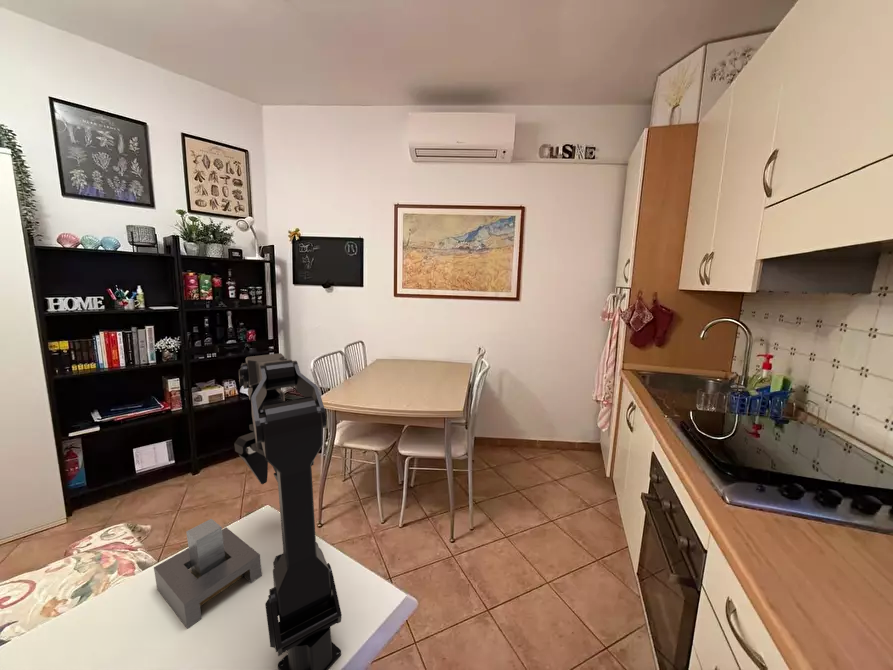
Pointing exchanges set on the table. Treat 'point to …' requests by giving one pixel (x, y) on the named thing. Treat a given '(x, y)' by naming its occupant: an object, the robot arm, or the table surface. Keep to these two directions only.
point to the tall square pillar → (205, 547)
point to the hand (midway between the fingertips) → (276, 490)
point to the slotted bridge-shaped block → (204, 577)
